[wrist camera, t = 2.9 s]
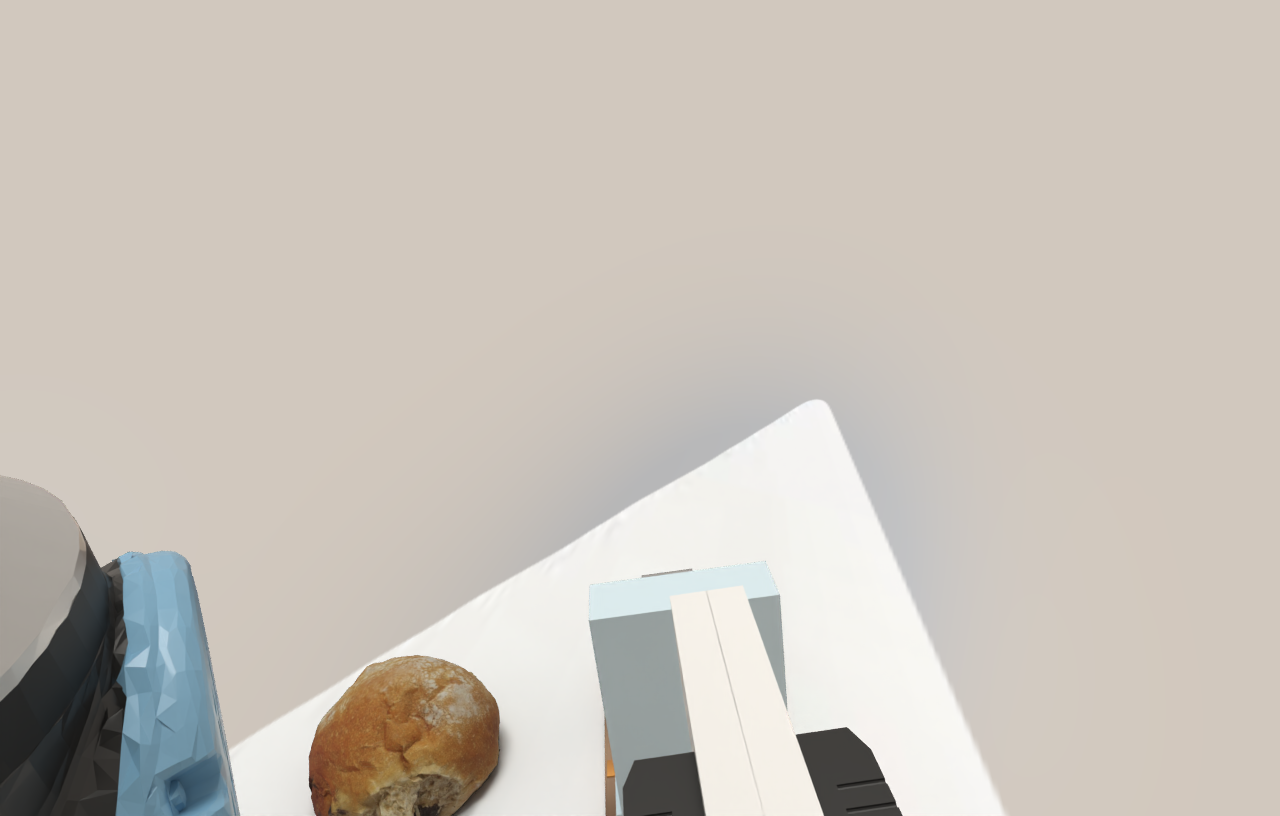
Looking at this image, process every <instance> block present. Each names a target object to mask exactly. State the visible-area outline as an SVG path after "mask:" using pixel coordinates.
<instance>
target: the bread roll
mask: <svg viewBox="0 0 1280 816" xmlns="http://www.w3.org/2000/svg"><path fill="white" fill-rule="evenodd" d="M499 724H500V718H499V709H498V706H497V703H496V700H495V698H494V697H493V696H492V695H491V693H490V692H489V691H488V690H487V689H486V688H485V686H484V685H483V683H482V682H481V681H479V680H478V679H477V678H476V676H475V675H473V673H472V672H468V671H467V670H465V669H464V668H462V667H460V666H458V665H456V664H453V663H450V662H447V661H445V660H442V659H437V658H433V657H428V656H420V655H414V656H406V657H398V658H396V657H395V658H392V659H389V660H387V661H384V662H381V663H374V664H371V665H369V666H367V667H366V668H365V670H364V671H363V672H362V673H361V675H360V676H359V677H358V678H357V680H356V681H355V683H354V684H353V685H352V686H351V687H349V688H348V690H347V691H346V692H345V693H344V695H343V696H342V697H341V698H340V699H339V701H338V702H337V703H336V704H335V705H334V706H333V707H332V708H331V709H330V710H329V711H328V712H327V714H326V715H325V716H324V717H323V718H322V720H321V722H320V723H319V725H318V727H317V730H316V733H315V737H314V740H313V743H312V746H311V751H310V755H309V787H310V789H311V792H312V795H311V799H312V802H313V807H314V811H315V814H316V816H451V815H452V814H453V813H455V812H456V811H457V810H458V809H459V808H460V807H461V806H462V805H463V804H464V803H465V802H466V801H467V800H468V798H470V796H471V795H472V794H473V793H474V792H476V791H477V790H478V789H479V788H480V787H481V786H482V785H483V783H484V782H485V781H486V780H487V779H488V775H489V774H490V773H491V772H492V770H493V769H494V768H495V767H496V765H497V763H498V756H499V751H500V749H499V744H498V739H499Z"/></svg>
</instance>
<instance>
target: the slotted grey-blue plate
mask: <svg viewBox="0 0 1280 816" xmlns="http://www.w3.org/2000/svg"><path fill="white" fill-rule="evenodd" d="M742 585H743V587H744V590H745V593H746V596H747V599H748V601H749V604H750V607H751V610H752V613H753V616H754V619H755V621H756V624H757V627H758V630H759V633H760V636H761V638H762V641H763V644H764V647H765V650H766V653H767V655H768V658H769V661H770V664H771V667H772V670H773V673H774V675H775V678H776V681H777V684H778V687H779V690H780V692H781V695H782V698H783V701H784V704H785V707H786V709H787V697H786V681H785V666H784V651H783V636H782V621H781V606H780V594H779V592H778V589H777V587H776V585H775V582H774V580H773V577H772V575H771V573H770V570H769V568H768V566H767V563H766V561H762V562H754V563H747V564H740V565H732V566H725V567H717V568H710V569H703V570H695V571H688V572H681V573H673V574H666V575H658V576H651V577H644V578H636V579H629V580H622V581H614V582H607V583H600V584H592V585H590V592H589V624H590V630H591V636H592V642H593V648H594V654H595V660H596V665H597V671H598V677H599V683H600V689H601V695H602V701H603V706H604V712H605V718H606V724H607V730H608V736H609V742H610V747H611V753H612V759H613V765H614V771H615V788H616V816H624V814H623V786H624V784H625V781H626V779H627V777H628V774H629V772H630V769H631V767H632V765H633V762H634V760H641V759H648V758H655V757H661V756H668V755H675V754H682V753H689V752H692V749H691V743H690V736H689V730H688V724H687V718H686V711H685V705H684V698H683V690H682V683H681V676H680V669H679V661H678V654H677V647H676V639H675V632H674V625H673V617H672V610H671V603H670V596H673V595H680V594H687V593H693V592H700V591H707V590H714V589H721V588H728V587H735V586H742Z"/></svg>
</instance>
